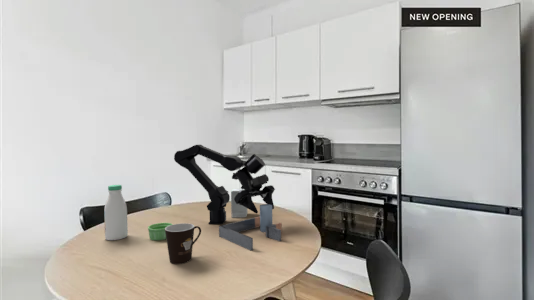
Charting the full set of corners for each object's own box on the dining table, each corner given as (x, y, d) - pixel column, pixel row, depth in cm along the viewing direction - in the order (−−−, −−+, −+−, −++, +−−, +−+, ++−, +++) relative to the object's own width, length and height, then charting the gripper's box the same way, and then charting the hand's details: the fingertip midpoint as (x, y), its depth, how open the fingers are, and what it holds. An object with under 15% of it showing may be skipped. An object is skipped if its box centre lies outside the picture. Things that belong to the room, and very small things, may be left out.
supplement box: (246, 217, 137) (246, 190, 136) (231, 217, 137) (230, 191, 137) (248, 213, 144) (247, 188, 144) (233, 213, 144) (232, 188, 144)
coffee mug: (168, 268, 83) (167, 233, 83) (163, 257, 90) (162, 225, 90) (208, 259, 88) (207, 227, 88) (200, 250, 96) (200, 220, 96)
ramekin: (143, 237, 110) (143, 226, 110) (166, 232, 117) (165, 221, 117) (155, 243, 104) (154, 230, 104) (177, 236, 111) (177, 225, 111)
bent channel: (251, 250, 95) (250, 238, 95) (219, 236, 110) (218, 225, 110) (293, 236, 108) (293, 226, 108) (259, 225, 123) (259, 216, 123)
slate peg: (260, 232, 114) (259, 207, 114) (260, 228, 119) (259, 204, 119) (272, 232, 114) (272, 206, 114) (272, 228, 119) (272, 204, 119)
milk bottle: (132, 235, 113) (130, 184, 112) (114, 241, 106) (112, 187, 105) (118, 233, 116) (117, 183, 115) (100, 239, 109) (98, 186, 108)
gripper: (238, 170, 113) (258, 202, 105) (271, 166, 126) (291, 195, 119) (226, 188, 118) (244, 219, 111) (259, 183, 132) (277, 211, 124)
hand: (265, 210), depth 116 cm, fingers open, 9 cm apart
